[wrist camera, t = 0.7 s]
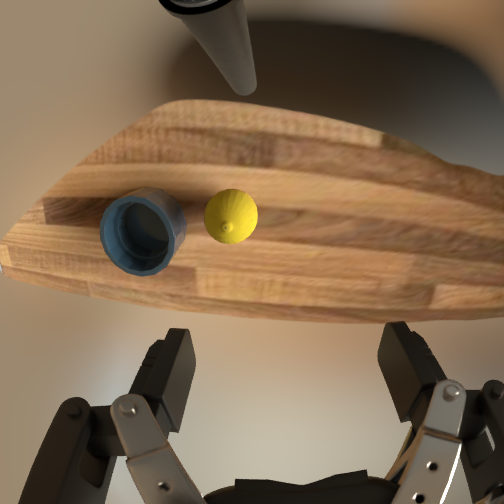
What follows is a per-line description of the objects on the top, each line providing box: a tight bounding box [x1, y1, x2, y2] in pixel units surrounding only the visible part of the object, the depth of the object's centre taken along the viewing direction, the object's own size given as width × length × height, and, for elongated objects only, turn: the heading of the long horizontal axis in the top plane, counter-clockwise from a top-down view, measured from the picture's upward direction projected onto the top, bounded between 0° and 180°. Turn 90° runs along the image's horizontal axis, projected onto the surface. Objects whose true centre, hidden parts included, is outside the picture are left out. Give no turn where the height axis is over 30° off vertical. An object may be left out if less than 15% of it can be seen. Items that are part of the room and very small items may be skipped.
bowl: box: [100, 187, 187, 276], centre depth 32 cm, size 9×9×6 cm
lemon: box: [204, 189, 258, 244], centre depth 30 cm, size 6×6×8 cm
